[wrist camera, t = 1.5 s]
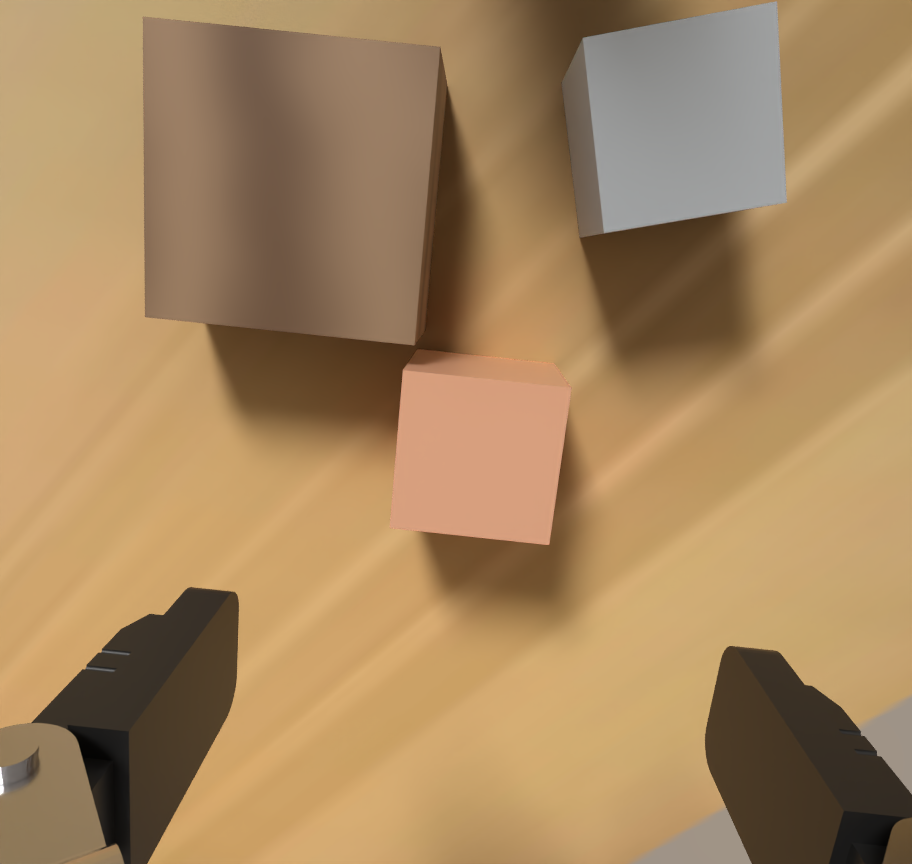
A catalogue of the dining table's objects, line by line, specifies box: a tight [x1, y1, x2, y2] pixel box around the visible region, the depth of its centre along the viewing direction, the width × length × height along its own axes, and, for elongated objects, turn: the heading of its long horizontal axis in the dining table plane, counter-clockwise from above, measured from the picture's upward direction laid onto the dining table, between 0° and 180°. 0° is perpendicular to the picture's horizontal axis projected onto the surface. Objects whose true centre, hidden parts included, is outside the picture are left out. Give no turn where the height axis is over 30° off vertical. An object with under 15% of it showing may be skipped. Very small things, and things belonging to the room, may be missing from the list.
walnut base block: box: [143, 17, 447, 345], centre depth 25 cm, size 9×9×5 cm
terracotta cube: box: [390, 349, 572, 545], centre depth 26 cm, size 6×6×6 cm
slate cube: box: [562, 2, 787, 238], centre depth 23 cm, size 6×6×6 cm
